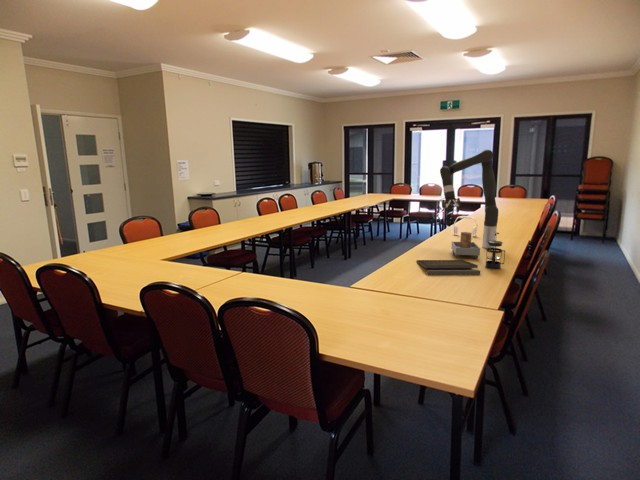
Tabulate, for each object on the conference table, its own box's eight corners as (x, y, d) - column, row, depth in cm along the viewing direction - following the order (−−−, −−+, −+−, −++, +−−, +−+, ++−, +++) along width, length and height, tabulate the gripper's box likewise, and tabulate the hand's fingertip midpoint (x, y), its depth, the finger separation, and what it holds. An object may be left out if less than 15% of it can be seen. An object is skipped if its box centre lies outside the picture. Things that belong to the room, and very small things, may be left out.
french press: (483, 268, 262) (486, 233, 257) (484, 264, 270) (487, 230, 265) (503, 270, 257) (506, 234, 252) (503, 266, 265) (507, 231, 261)
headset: (452, 235, 365) (453, 215, 362) (453, 234, 372) (455, 214, 368) (476, 237, 357) (477, 217, 353) (477, 235, 363) (478, 216, 359)
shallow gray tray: (473, 252, 302) (474, 242, 300) (479, 259, 283) (480, 248, 281) (451, 252, 305) (451, 241, 303) (455, 258, 285) (456, 247, 284)
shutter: (416, 270, 279) (428, 278, 248) (416, 260, 278) (428, 266, 247) (463, 267, 279) (481, 275, 247) (463, 257, 278) (480, 263, 247)
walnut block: (465, 247, 296) (466, 231, 293) (470, 249, 291) (471, 232, 289) (460, 248, 294) (461, 232, 292) (464, 250, 290) (465, 233, 287)
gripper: (442, 191, 311) (446, 212, 309) (459, 189, 313) (463, 210, 310) (438, 194, 318) (442, 214, 316) (455, 192, 320) (459, 212, 318)
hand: (452, 212), depth 313 cm, fingers open, 8 cm apart
